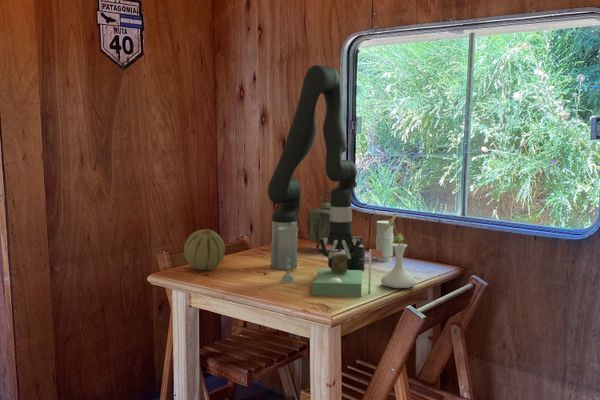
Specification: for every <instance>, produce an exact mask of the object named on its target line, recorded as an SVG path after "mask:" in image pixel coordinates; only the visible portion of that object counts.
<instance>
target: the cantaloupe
mask: <svg viewBox="0 0 600 400" xmlns="http://www.w3.org/2000/svg"><path fill="white" fill-rule="evenodd" d="M225 249H226V247H225V242H224V240H223V239H222V237H221V236H220V235H219V234H218V233H217V232H215V231H214V230H211V229H205V228H204V229H199V230H196V231H194V232H192V233H191V234H190V235H189V236H188V237H187V239H186V241H185V244H184V248H183V255H184V258H185V260H186V262H187V263H188V265H189V266H191V267H192V268H193V269H195V270H199V271H210V270H213V269H215V268H217V267H218V266H219V265H220V264H221V263H222V261H223V259H224V257H225V251H226V250H225Z"/></svg>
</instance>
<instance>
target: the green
mask: <svg viewBox="0 0 600 400" xmlns="http://www.w3.org/2000/svg"><path fill="white" fill-rule="evenodd" d="M331 271H332V269H330V268H329V269H327V268H326V269H325V268H318V271H317V272H316V276H315V279H314V280H313V281H312V284H311V287H312V288H311V292H312V296H326V297H328V296H329V297H348V298H349V297H354V298H355V297H356V298H361V297H362V285H363V283H362V282H363V271H362V270H347V272H344V271H334V272H331ZM332 278H339V279H340V280H341V281H342V282H329V281H330V280H331V279H332Z"/></svg>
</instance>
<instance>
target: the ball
mask: <svg viewBox="0 0 600 400" xmlns="http://www.w3.org/2000/svg"><path fill="white" fill-rule="evenodd" d="M329 282H342V281H341V280H340V279H339V278H332V279H331V280H330V281H329Z"/></svg>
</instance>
